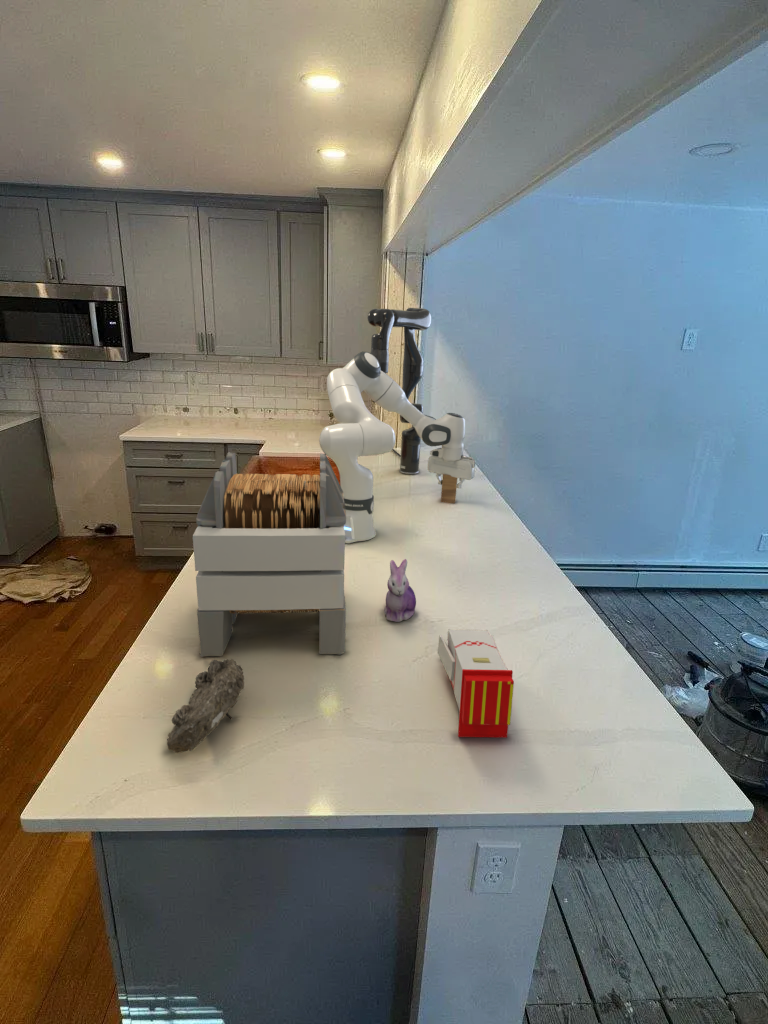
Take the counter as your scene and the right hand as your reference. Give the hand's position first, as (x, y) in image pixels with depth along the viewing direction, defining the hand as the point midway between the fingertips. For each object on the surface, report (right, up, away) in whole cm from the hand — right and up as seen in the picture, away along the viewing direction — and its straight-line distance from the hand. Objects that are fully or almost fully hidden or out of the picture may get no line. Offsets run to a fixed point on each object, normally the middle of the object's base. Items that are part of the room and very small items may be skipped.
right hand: (377, 400), depth 235 cm
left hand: (+30, -35, -1) cm, 46 cm away
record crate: (-24, -73, -93) cm, 120 cm away
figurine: (+7, -73, -88) cm, 114 cm away
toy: (+20, -84, -117) cm, 145 cm away
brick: (+29, -42, +1) cm, 51 cm away
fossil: (-30, -85, -127) cm, 156 cm away
